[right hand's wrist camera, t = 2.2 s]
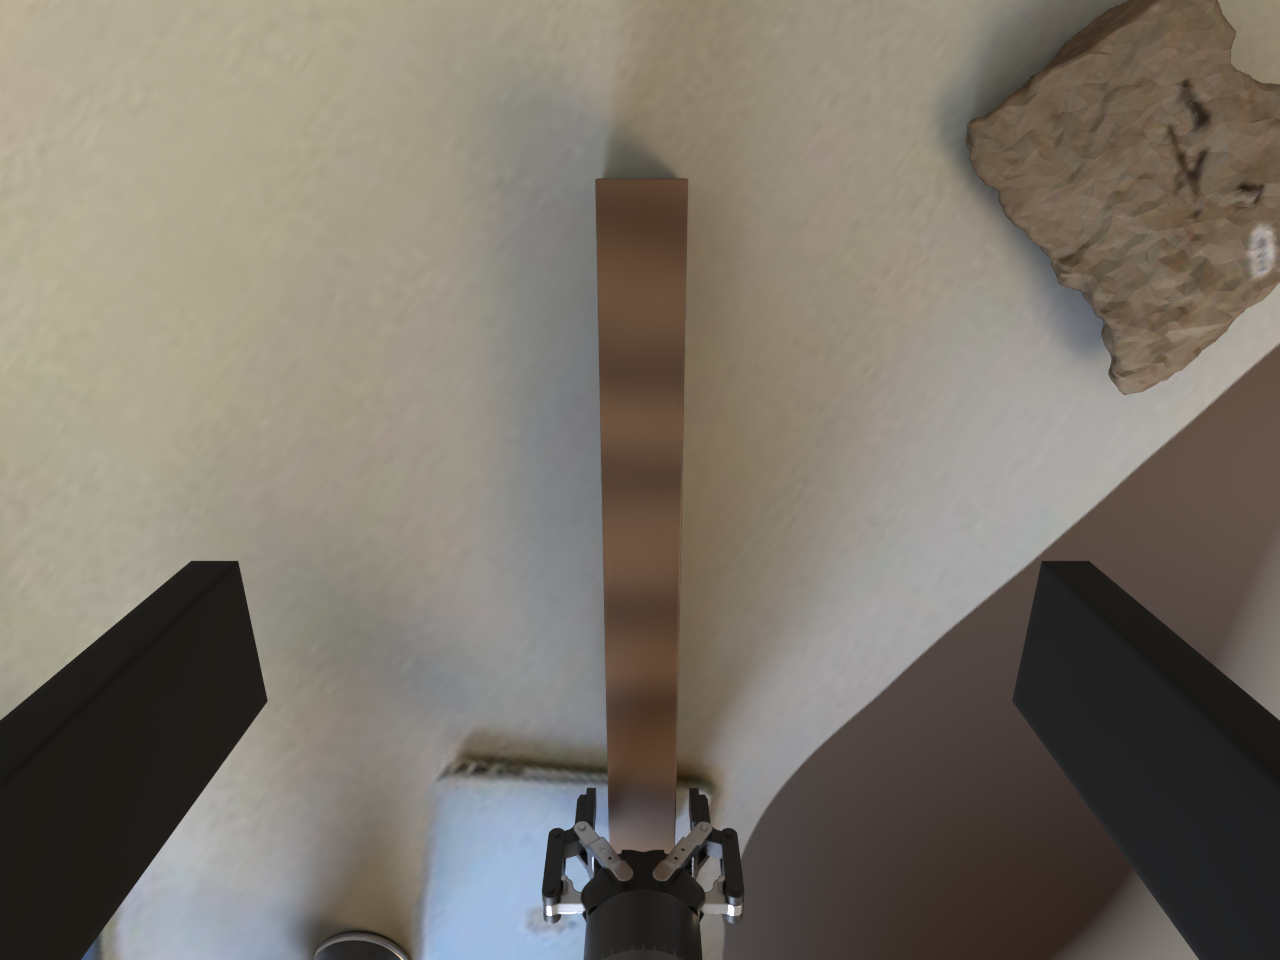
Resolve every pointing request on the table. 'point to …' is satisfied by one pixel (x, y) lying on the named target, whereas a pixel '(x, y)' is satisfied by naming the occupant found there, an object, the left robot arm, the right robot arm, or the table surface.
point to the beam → (641, 495)
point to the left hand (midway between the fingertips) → (642, 796)
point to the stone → (1145, 179)
